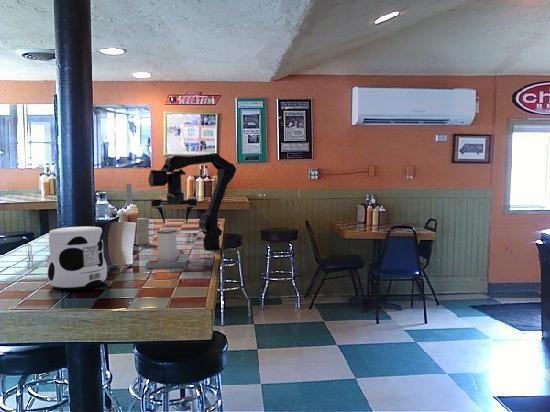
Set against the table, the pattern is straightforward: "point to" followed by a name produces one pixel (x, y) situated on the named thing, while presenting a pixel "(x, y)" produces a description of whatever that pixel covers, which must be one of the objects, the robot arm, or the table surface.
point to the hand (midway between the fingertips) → (175, 222)
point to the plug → (167, 245)
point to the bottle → (128, 196)
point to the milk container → (76, 258)
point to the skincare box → (142, 231)
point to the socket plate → (167, 262)
